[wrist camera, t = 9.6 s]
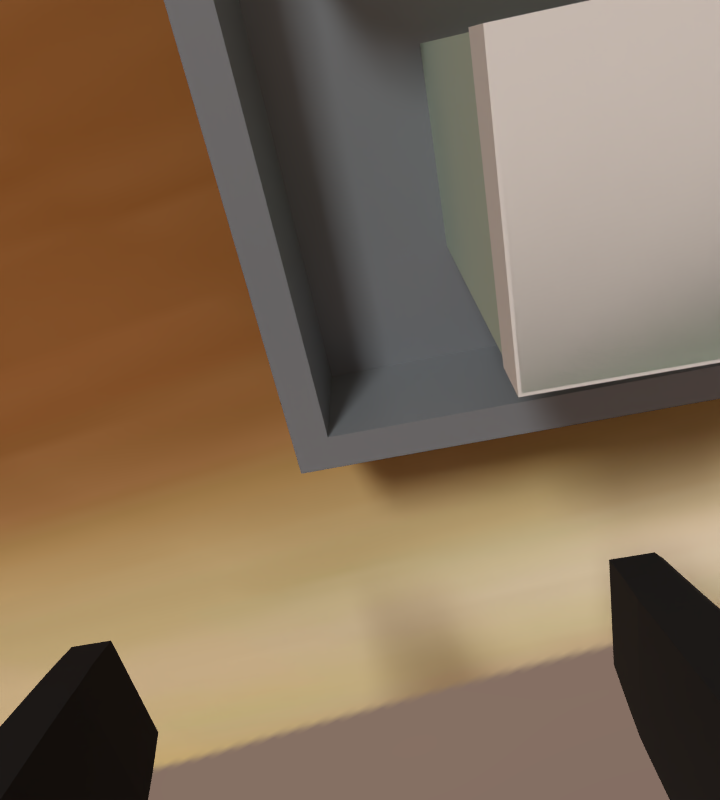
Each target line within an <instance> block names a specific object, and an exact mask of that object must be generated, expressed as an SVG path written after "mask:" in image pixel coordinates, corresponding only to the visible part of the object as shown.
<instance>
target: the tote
mask: <svg viewBox="0 0 720 800" xmlns="http://www.w3.org/2000/svg"><path fill="white" fill-rule="evenodd" d="M584 1H589V0H164V2H165V6H166V9H167V13H168V16H169V20H170V23H171V26H172V30H173V33H174V37H175V40H176V44H177V47H178V51H179V54H180V57H181V61H182V64H183V68H184V71H185V75H186V78H187V82H188V85H189V88H190V92H191V95H192V99H193V102H194V106H195V109H196V113H197V116H198V119H199V123H200V126H201V130H202V133H203V137H204V140H205V143H206V147H207V150H208V154H209V157H210V161H211V164H212V168H213V171H214V174H215V178H216V181H217V185H218V188H219V192H220V195H221V199H222V202H223V205H224V209H225V212H226V216H227V219H228V223H229V226H230V230H231V233H232V236H233V240H234V243H235V247H236V250H237V254H238V257H239V260H240V264H241V267H242V271H243V274H244V278H245V281H246V285H247V288H248V291H249V295H250V298H251V302H252V305H253V309H254V312H255V316H256V319H257V322H258V326H259V329H260V333H261V336H262V340H263V343H264V347H265V350H266V353H267V357H268V360H269V364H270V367H271V371H272V374H273V377H274V381H275V384H276V388H277V391H278V395H279V398H280V402H281V405H282V408H283V412H284V415H285V419H286V422H287V426H288V429H289V433H290V436H291V439H292V443H293V446H294V450H295V453H296V457H297V460H298V464H299V467H300V470H301V474H302V473H307V472H313V471H318V470H324V469H329V468H335V467H341V466H346V465H352V464H357V463H363V462H368V461H374V460H380V459H385V458H391V457H396V456H402V455H408V454H413V453H419V452H424V451H430V450H435V449H441V448H447V447H452V446H458V445H463V444H469V443H474V442H480V441H486V440H491V439H497V438H502V437H508V436H513V435H519V434H525V433H530V432H536V431H541V430H547V429H553V428H558V427H564V426H569V425H575V424H580V423H586V422H592V421H597V420H603V419H608V418H614V417H619V416H625V415H631V414H636V413H642V412H647V411H653V410H658V409H664V408H670V407H675V406H681V405H686V404H692V403H698V402H703V401H709V400H714V399H720V363H714V364H708V365H702V366H696V367H691V368H685V369H679V370H673V371H668V372H662V373H656V374H650V375H644V376H639V377H633V378H627V379H621V380H616V381H610V382H604V383H598V384H592V385H587V386H581V387H575V388H569V389H564V390H558V391H552V392H546V393H540V394H535V395H529V396H523V397H518V396H517V394H516V391H515V389H514V387H513V385H512V383H511V381H510V379H509V377H508V375H507V373H506V371H505V369H504V367H503V358H502V354H501V352H500V350H499V348H498V346H497V344H496V342H495V340H494V338H493V336H492V334H491V332H490V330H489V328H488V326H487V324H486V322H485V320H484V318H483V316H482V314H481V312H480V310H479V308H478V306H477V304H476V302H475V301H474V299H473V297H472V295H471V293H470V291H469V289H468V287H467V285H466V283H465V281H464V279H463V277H462V275H461V273H460V271H459V269H458V267H457V265H456V263H455V261H454V259H453V257H452V255H451V253H450V251H449V249H448V247H447V243H446V236H445V228H444V221H443V213H442V206H441V198H440V191H439V183H438V176H437V168H436V161H435V153H434V146H433V138H432V131H431V123H430V116H429V108H428V101H427V93H426V86H425V78H424V71H423V63H422V56H421V48H420V43H425V42H429V41H433V40H437V39H442V38H446V37H450V36H454V35H459V34H463V33H467V32H469V28H468V27H471V26H475V25H479V24H482V23H487V22H491V21H496V20H501V19H505V18H510V17H514V16H519V15H524V14H528V13H533V12H538V11H542V10H547V9H552V8H556V7H561V6H565V5H570V4H575V3H579V2H584Z"/></svg>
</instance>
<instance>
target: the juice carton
mask: <svg viewBox="0 0 720 800" xmlns="http://www.w3.org/2000/svg"><path fill="white" fill-rule="evenodd" d="M468 28H469V32H467V33H463V34H459V35H454V36H450V37H446V38H442V39H437V40H433V41H429V42H425V43H420V48H421V56H422V63H423V71H424V78H425V86H426V93H427V101H428V108H429V116H430V123H431V131H432V138H433V146H434V153H435V161H436V168H437V176H438V183H439V191H440V198H441V206H442V213H443V221H444V228H445V236H446V243H447V247H448V249H449V251H450V253H451V255H452V257H453V259H454V261H455V263H456V265H457V267H458V269H459V271H460V273H461V275H462V277H463V279H464V281H465V283H466V285H467V287H468V289H469V291H470V293H471V295H472V297H473V299H474V301H475V302H476V304H477V306H478V308H479V310H480V312H481V314H482V316H483V318H484V320H485V322H486V324H487V326H488V328H489V330H490V332H491V334H492V336H493V338H494V340H495V342H496V344H497V346H498V348H499V350H500V352H501V354H502V358H503V367H504V369H505V371H506V373H507V375H508V377H509V379H510V381H511V383H512V385H513V387H514V389H515V391H516V394H517V396H518V397H523V396H529V395H535V394H540V393H546V392H552V391H558V390H564V389H569V388H575V387H581V386H587V385H592V384H598V383H604V382H610V381H616V380H621V379H627V378H633V377H639V376H644V375H650V374H656V373H662V372H668V371H673V370H679V369H685V368H691V367H696V366H702V365H708V364H714V363H720V0H589V1H584V2H579V3H575V4H570V5H565V6H561V7H556V8H552V9H547V10H542V11H538V12H533V13H528V14H524V15H519V16H514V17H510V18H505V19H501V20H496V21H491V22H487V23H482V24H479V25H475V26H471V27H468Z"/></svg>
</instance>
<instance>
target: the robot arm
mask: <svg viewBox="0 0 720 800" xmlns="http://www.w3.org/2000/svg"><path fill="white" fill-rule="evenodd" d="M609 564H610V587H611V609H612V631H613V653H614V666H615V669H616V671H617V674H618V677H619V680H620V683H621V686H622V689H623V691H624V694H625V697H626V700H627V703H628V706H629V708H630V711H631V714H632V716H633V719H634V722H635V724H636V727H637V729H638V733H639V735H640V738H641V740H642V742H643V744H644V746H645V749H646V751H647V753H648V755H649V757H650V759H651V761H652V763H653V765H654V767H655V770H656V772H657V774H658V776H659V778H660V780H661V782H662V784H663V786H664V789H665V790H666V793H667V794H668V797H669V799H670V800H720V609H719V608H718V607H717V606H716V605H715V604H714V603H712V602H711V601H710V600H709V599H708V598H707V597H706V596H704V595H703V594H702V593H701V592H700V591H699V590H698V589H696V588H695V587H694V586H693V585H692V584H691V583H690V582H689V581H688V580H686V579H685V578H684V577H683V576H682V575H681V574H680V573H679V572H677V571H676V570H675V569H674V568H673V567H672V566H671V565H670V564H669V563H668V562H666V561H665V560H664V559H663V558H662V557H660V556H659V555H657V554H656V553H649V554H642V555H636V556H630V557H624V558H618V559H612V560H609ZM157 737H158V731H157V729H156V727H155V725H154V723H153V721H152V719H151V718H150V716H149V714H148V712H147V710H146V708H145V706H144V704H143V702H142V700H141V698H140V696H139V694H138V692H137V690H136V688H135V686H134V684H133V682H132V681H131V679H130V677H129V675H128V673H127V671H126V669H125V667H124V665H123V663H122V661H121V659H120V657H119V655H118V653H117V651H116V649H115V647H114V646H113V644H112V642H111V641H106V642H100V643H94V644H88V645H82V646H76V647H71V649H70V650H69V651H68V652H67V653H66V654H65V655H64V656H63V657H62V658H61V659H60V660H59V661H58V662H57V663H56V664H55V665H54V667H53V668H52V669H51V670H50V671H49V672H48V673H47V674H46V675H45V677H44V678H43V679H42V680H41V681H40V682H39V683H38V684H37V685H36V687H35V688H34V689H33V690H32V691H31V692H30V693H29V695H28V696H27V697H26V698H25V699H24V700H23V701H22V703H21V704H20V705H19V706H18V707H17V708H16V709H15V710H14V712H13V713H12V714H11V715H10V716H9V717H8V718H7V720H6V721H5V722H4V723H3V724H2V725H1V726H0V800H148V795H149V790H150V784H151V779H152V773H153V766H154V759H155V752H156V745H157Z"/></svg>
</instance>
